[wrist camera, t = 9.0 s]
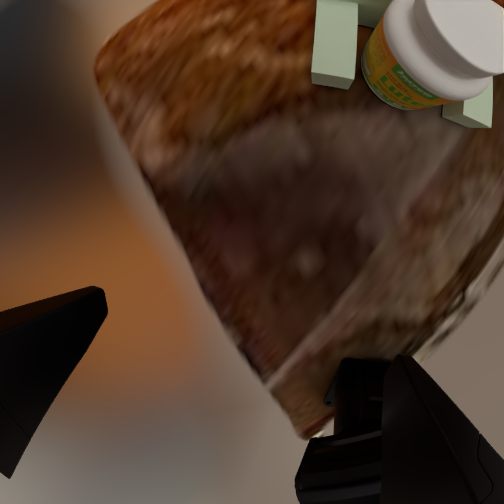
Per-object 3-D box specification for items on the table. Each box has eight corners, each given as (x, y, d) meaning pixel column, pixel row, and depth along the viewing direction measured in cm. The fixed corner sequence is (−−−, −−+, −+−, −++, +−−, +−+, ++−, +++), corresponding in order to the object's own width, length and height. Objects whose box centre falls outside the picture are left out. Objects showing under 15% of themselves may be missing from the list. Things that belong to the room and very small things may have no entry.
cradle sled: (468, 128, 12) (515, 129, 8) (311, 83, 14) (308, 58, 9) (469, 41, 10) (508, 20, 5) (318, -5, 11) (316, -50, 6)
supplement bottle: (355, 98, 14) (405, 54, 5) (361, 26, 12) (397, -57, 3) (433, 121, 13) (530, 119, 5) (436, 51, 11) (517, 5, 2)
